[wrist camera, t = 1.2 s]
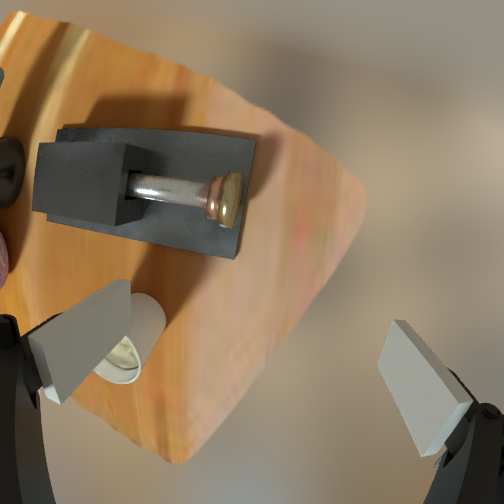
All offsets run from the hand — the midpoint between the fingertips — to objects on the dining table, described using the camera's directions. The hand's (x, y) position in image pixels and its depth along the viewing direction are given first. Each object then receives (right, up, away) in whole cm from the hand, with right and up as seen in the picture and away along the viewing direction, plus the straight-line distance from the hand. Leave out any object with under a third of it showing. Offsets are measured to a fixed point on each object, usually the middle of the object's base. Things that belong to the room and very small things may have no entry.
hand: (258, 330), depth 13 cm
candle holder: (-18, -7, +29) cm, 35 cm away
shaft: (-12, +12, +23) cm, 29 cm away
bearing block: (-18, +14, +24) cm, 33 cm away
